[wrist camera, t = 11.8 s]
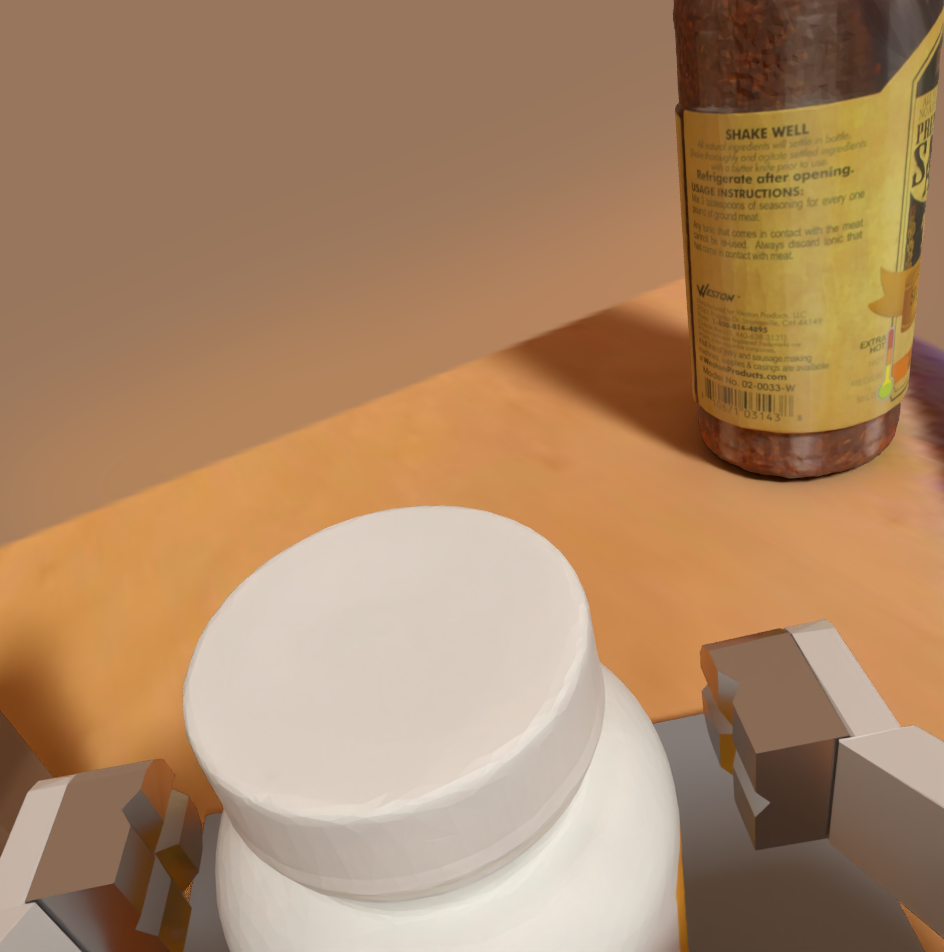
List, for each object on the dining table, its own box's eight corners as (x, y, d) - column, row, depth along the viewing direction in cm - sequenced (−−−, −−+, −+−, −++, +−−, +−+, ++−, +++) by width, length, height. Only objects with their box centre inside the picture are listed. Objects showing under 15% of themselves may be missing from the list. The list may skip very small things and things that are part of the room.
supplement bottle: (606, 1385, 10) (445, 1084, 5) (299, 1119, 13) (-18, 746, 8) (748, 973, 13) (751, 523, 8) (479, 835, 16) (349, 437, 11)
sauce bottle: (941, 467, 24) (1114, -588, 12) (725, 506, 24) (706, -481, 13) (844, 365, 29) (905, -435, 18) (669, 398, 29) (622, -363, 18)
